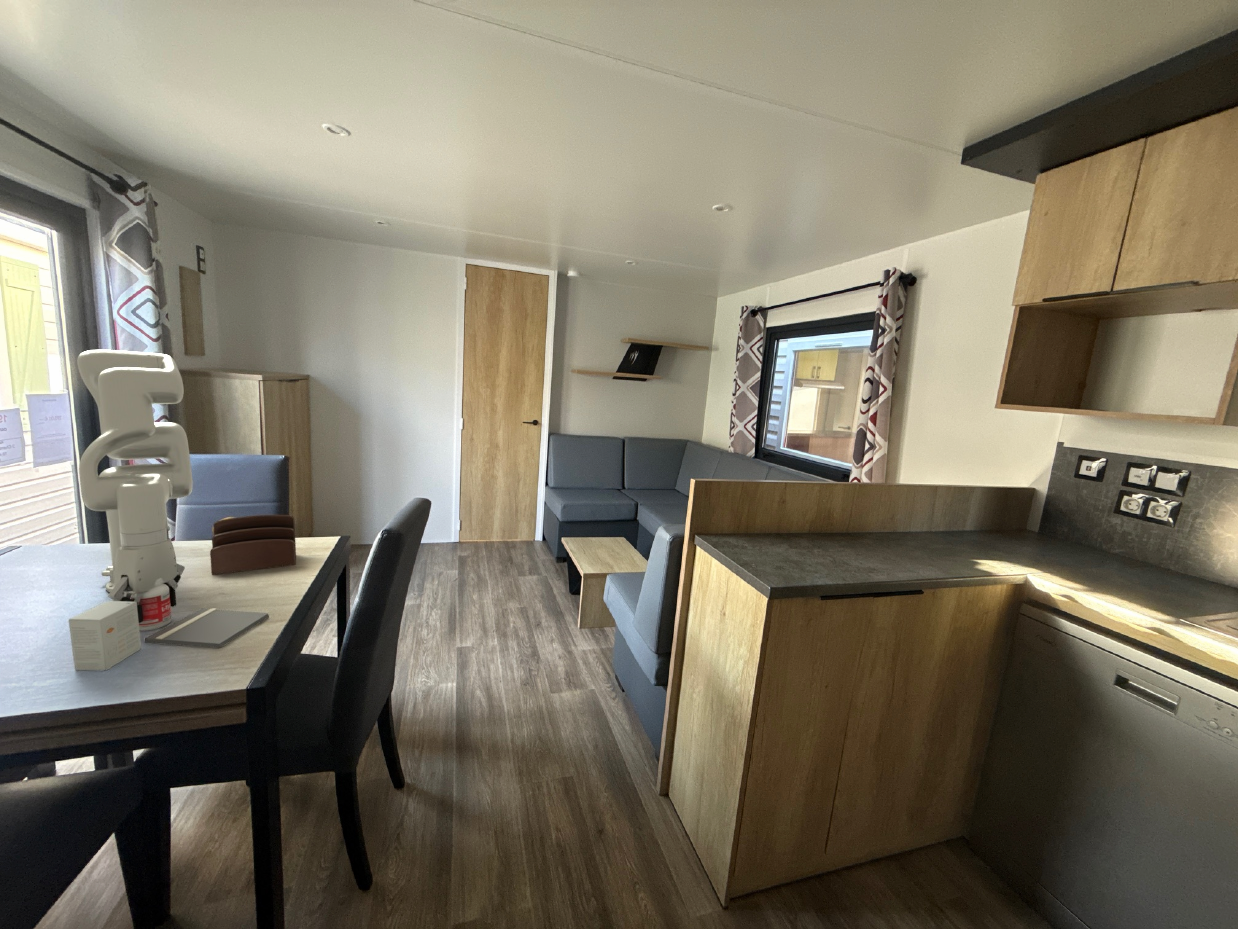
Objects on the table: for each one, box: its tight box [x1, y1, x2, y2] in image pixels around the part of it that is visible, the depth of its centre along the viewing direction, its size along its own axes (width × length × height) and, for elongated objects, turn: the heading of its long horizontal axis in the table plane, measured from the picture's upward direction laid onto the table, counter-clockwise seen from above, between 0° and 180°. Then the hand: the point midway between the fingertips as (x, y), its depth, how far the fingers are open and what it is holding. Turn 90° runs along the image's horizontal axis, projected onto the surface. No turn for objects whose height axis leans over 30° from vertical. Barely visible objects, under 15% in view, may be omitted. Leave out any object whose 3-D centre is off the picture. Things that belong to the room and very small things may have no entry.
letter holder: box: [209, 514, 297, 575], centre depth 146 cm, size 10×20×14 cm, turn 123°
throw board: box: [143, 607, 270, 649], centre depth 110 cm, size 16×14×1 cm
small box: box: [68, 600, 142, 671], centre depth 96 cm, size 8×6×10 cm
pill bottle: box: [130, 578, 172, 632], centre depth 109 cm, size 6×6×11 cm
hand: (152, 613), depth 110 cm, fingers open, 7 cm apart
